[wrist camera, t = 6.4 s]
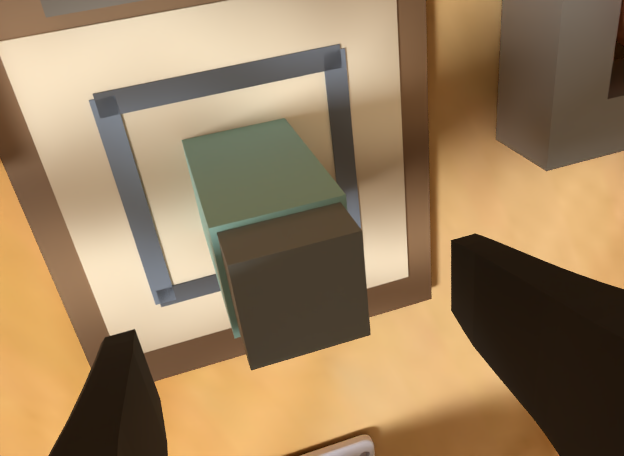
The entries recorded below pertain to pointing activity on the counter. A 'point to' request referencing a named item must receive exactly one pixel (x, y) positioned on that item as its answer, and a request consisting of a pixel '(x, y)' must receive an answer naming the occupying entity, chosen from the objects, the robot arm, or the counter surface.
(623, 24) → the button
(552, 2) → the button housing
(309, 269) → the block
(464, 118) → the counter surface
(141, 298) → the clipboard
